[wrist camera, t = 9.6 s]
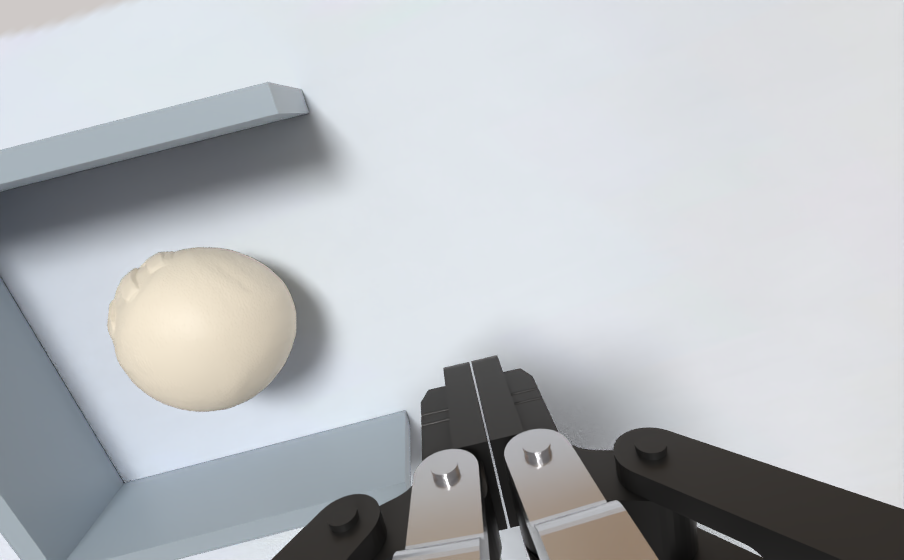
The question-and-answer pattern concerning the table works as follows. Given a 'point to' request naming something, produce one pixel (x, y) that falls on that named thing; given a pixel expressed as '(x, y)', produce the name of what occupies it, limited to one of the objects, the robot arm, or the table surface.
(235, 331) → the cream rounded lump
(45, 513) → the grey u-shaped frame
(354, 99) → the table surface
